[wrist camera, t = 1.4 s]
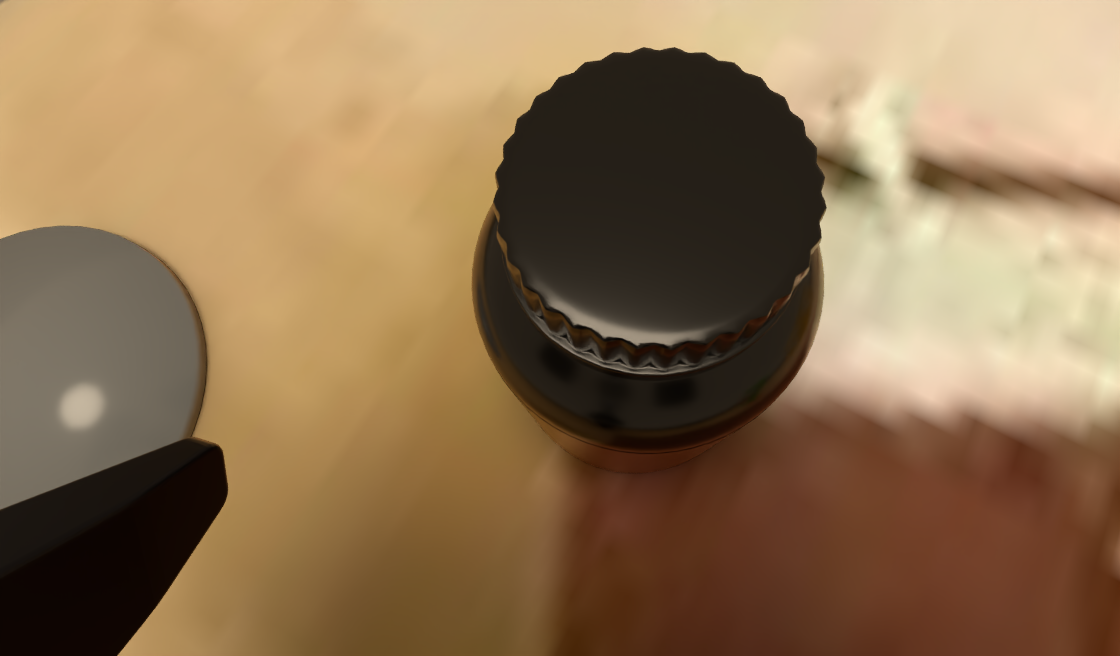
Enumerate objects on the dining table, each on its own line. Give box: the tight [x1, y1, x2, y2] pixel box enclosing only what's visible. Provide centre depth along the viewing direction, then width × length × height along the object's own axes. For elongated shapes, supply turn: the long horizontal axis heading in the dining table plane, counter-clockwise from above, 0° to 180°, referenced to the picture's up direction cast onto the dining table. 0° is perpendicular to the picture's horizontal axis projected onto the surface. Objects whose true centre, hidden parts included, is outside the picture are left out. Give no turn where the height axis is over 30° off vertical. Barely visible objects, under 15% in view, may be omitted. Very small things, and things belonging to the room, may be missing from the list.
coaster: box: [0, 226, 207, 509], centre depth 22 cm, size 11×11×1 cm
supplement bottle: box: [472, 47, 827, 473], centre depth 16 cm, size 7×7×12 cm
